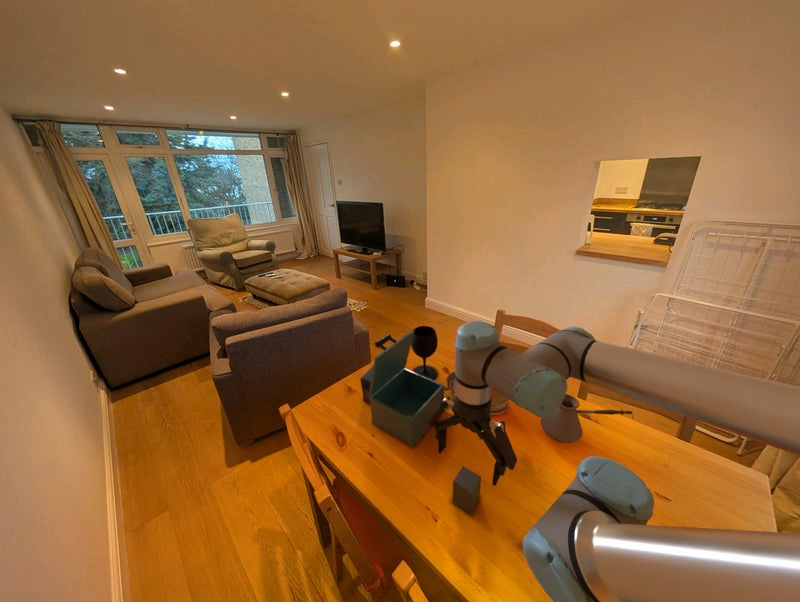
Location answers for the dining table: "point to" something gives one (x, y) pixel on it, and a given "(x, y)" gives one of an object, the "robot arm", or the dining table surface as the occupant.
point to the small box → (366, 384)
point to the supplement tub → (498, 403)
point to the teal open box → (406, 405)
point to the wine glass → (425, 349)
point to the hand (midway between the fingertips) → (467, 464)
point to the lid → (389, 360)
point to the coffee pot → (569, 420)
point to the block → (466, 489)
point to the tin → (451, 381)
